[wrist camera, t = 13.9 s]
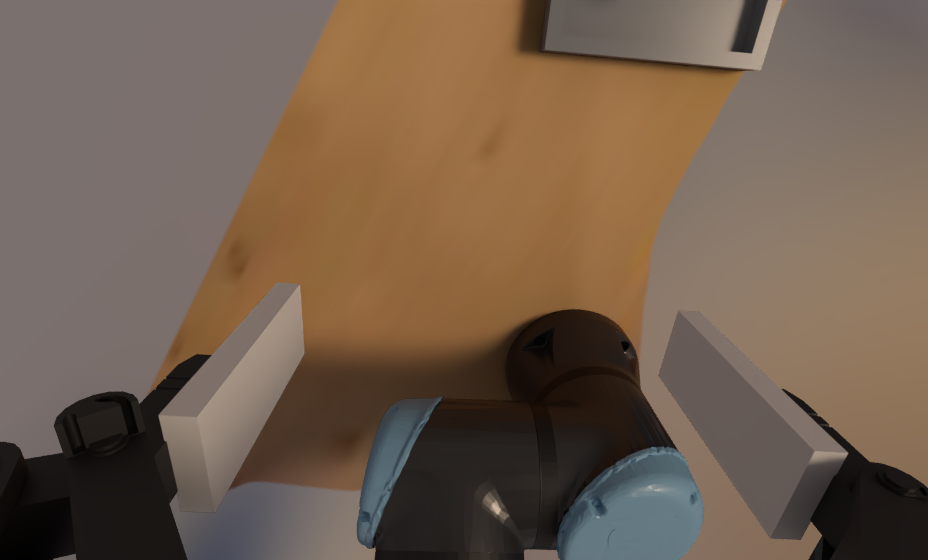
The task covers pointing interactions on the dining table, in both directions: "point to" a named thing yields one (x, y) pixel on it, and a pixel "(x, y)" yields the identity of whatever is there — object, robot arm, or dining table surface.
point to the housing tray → (663, 31)
